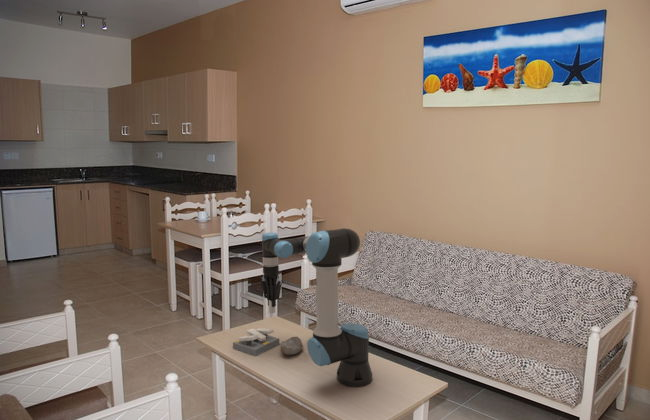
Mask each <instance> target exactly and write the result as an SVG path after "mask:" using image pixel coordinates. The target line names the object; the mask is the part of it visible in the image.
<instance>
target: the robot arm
mask: <svg viewBox="0 0 650 420" xmlns="http://www.w3.org/2000/svg"><path fill="white" fill-rule="evenodd" d="M261 237H262V239H261V244H262V246H261V247H262V249H261V250H262V251H261V252H262V265H263V266H262V274H263V276H262V277H261V278H259V281H260V283H261V287H262V292H263V297H264V299H266V300H267V305H268V314H269V315H272V314H274V313H276V306H277V304H276V303H277V301H276V300H279V299H280V296H281V295H280V294H281V289H282V285H283V283H284V280H281V279H280V277H279V273H280V269H279V268H280V266H279V264H280V263H279V258H281V259H287V258H289V257H291V256H295V255H301V254H306V256H307V257H306V258H307V259H308V260H309V261H310V262H311V265H312V267H314V269H315V279H316V280H315V285H316V286H315V291H316V294H315V296H316V297H315V298H316V306H315V307H316V308H315V309H316V327H315V328H313V330H312V337H310V338H308V340H307V343H306V349H307V352H308V355H309V357H310V359H311V361H312V362H313V363H314V364H315V365H317V366H318V367H323V366H324V367H325V366H330V365H331V364H334V363H339V365H338V368H337V370H336V381H337V382H338V383H340V384H341V385H342V386H347V387H354V388H357V387H360V388H361V387H363V386H367V385H370V384H371V383H372V381H373V371H372V368H371V365H370V361H369V352H370V351H369V348H370V347H369V346H370V345H369V344H370V342H369V341H370V335H369V329H368V327H366V326H365V325H362V324H359V323H352V322H346V323H343V324H341V326H340V327H339V289H338V288H339V287H338V286H339V275H338V274H339V273H338V272H339V268H340V267H341V266H342V262H343V261H342V259H345V258H349V257H351V256H353V255H355V254H356V253H357V252H358V250H359V249H360V247H361V240H360V239H361V238H360V236H359V235H358V233H357V232H356V231H355V230H353V229H351V228H338V229H337V228H335V229H326V230H320V231H316V232H313V233H311V234H310V235H309V236H303V237H296V238H288V239H287V238H286V239H279V235H278V233H277V232H264V233H262V235H261Z"/></svg>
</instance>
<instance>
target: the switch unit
mask: <svg viewBox="0 0 650 420" xmlns="http://www.w3.org/2000/svg"><path fill="white" fill-rule="evenodd" d="M263 335H265V336H266V339H265V340H263V341H259V340H258V339H255V340H251V341H238V339H237V340H236V341H233V342H232V349H233V348H234V349H233V350H236V349H237V350H236V351H240V352H242V353H245V354H248V355H251V356H254V357H257V356H258V355H261V354H262V353H265V352H267V351H269V350H271V349H274V348H275V347H276V346H279V345H280V337H275V336H273V335H270V334H263ZM248 336H251V335H249V334H248Z"/></svg>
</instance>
